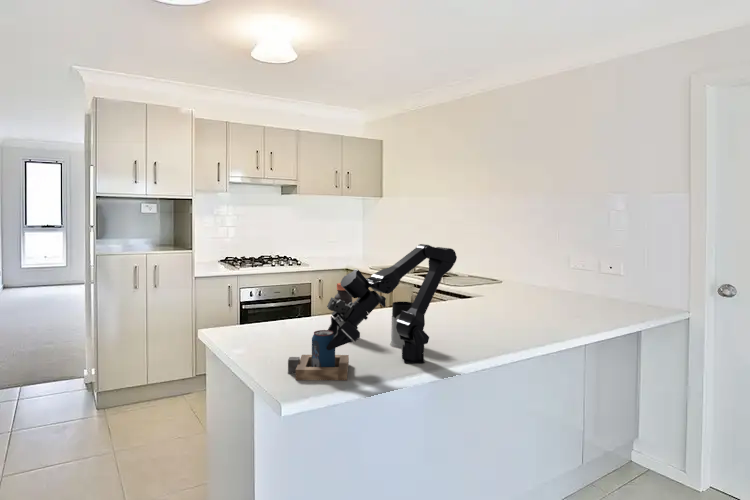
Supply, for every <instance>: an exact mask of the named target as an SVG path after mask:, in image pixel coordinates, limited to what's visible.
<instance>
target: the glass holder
mask: <svg viewBox="0 0 750 500" xmlns="http://www.w3.org/2000/svg"><path fill="white" fill-rule="evenodd" d="M412 304H413V302H410V301H395V302H392V309H391V311H392V312H391V341H390V344H389V345H390V346H391V347H393V348H396V349H402V345H404V340H401V339H400V336H399V334H398V332H397V329H396V325H397V323H398V322H396V321H397V320H398V319H399V317H400V314H401V312H402V311H405V312H407V311H408V310H409V309H410V308H411V306H412Z"/></svg>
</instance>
